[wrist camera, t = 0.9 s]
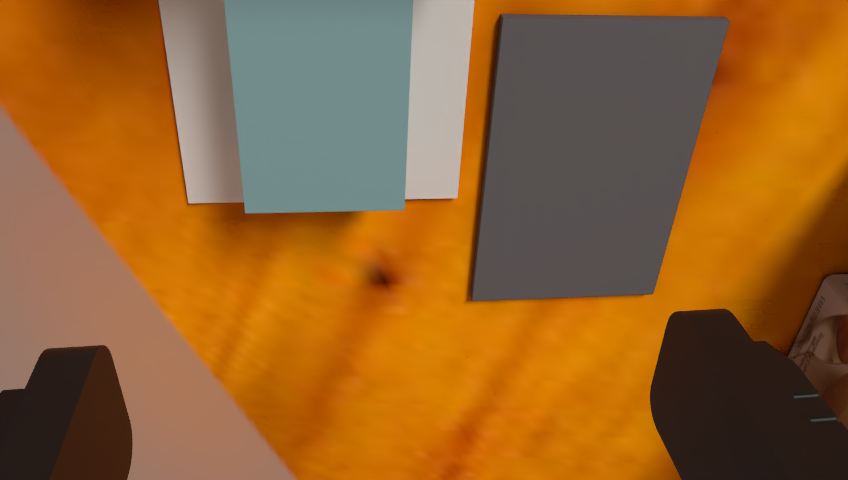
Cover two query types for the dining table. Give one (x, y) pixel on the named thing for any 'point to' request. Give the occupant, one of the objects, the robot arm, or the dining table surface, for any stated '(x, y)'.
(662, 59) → the rubber mat
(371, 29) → the teal blank
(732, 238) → the dining table surface
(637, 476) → the dining table surface
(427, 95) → the white piece
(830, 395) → the coffee box
